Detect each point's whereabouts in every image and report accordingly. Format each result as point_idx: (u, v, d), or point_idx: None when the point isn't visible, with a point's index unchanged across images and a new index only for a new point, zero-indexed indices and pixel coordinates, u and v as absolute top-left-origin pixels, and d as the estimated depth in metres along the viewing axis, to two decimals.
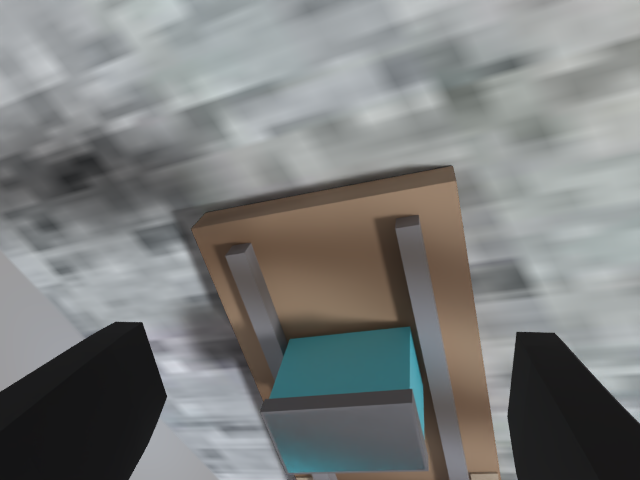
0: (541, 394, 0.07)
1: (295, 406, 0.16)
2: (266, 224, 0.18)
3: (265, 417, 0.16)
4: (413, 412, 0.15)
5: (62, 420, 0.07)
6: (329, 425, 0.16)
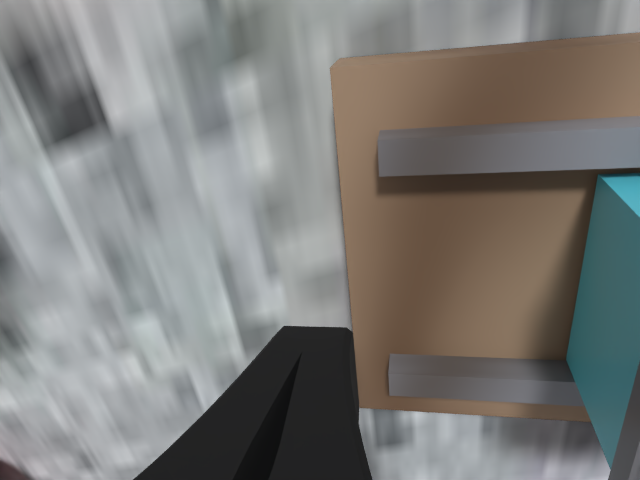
0: None
1: (628, 455, 0.08)
2: (365, 328, 0.13)
3: None
4: None
5: (277, 436, 0.07)
6: None
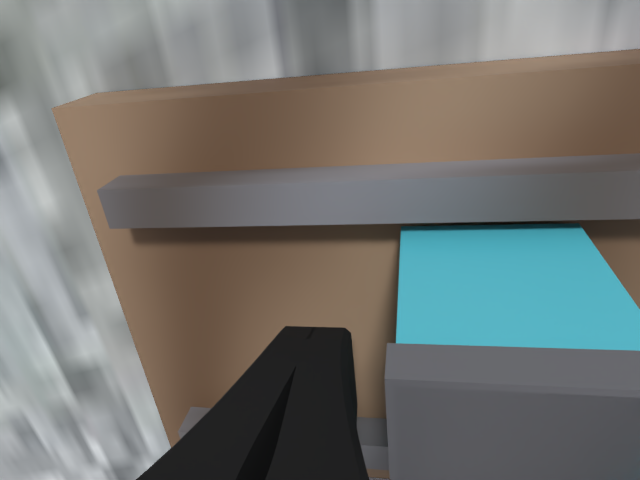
0: None
1: None
2: (160, 381, 0.12)
3: None
4: (422, 382, 0.05)
5: (279, 436, 0.07)
6: None
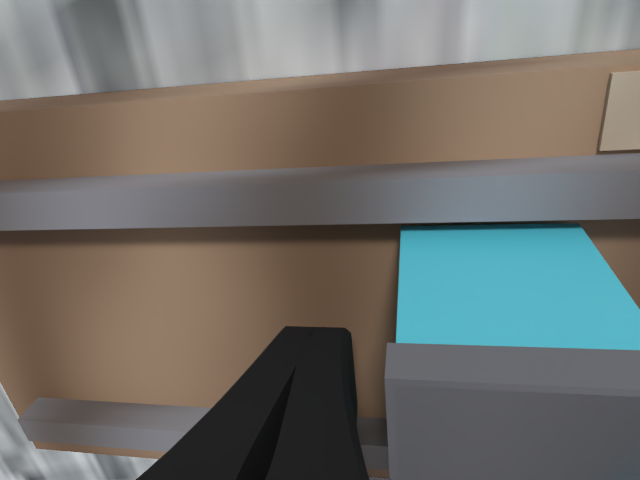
0: None
1: None
2: (6, 373, 0.13)
3: None
4: (422, 382, 0.05)
5: (279, 436, 0.07)
6: None
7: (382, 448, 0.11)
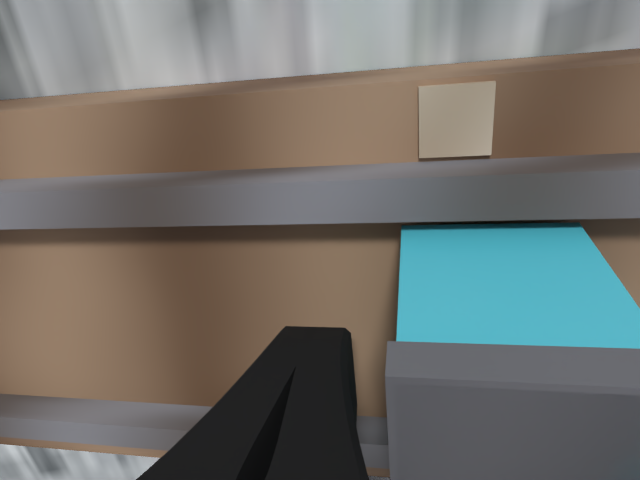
0: None
1: None
2: None
3: None
4: (422, 380, 0.05)
5: (279, 436, 0.07)
6: None
7: None
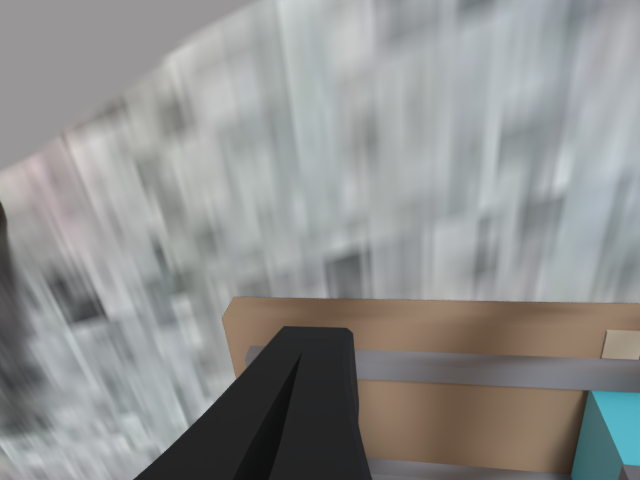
0: None
1: None
2: None
3: None
4: None
5: (277, 436, 0.07)
6: None
7: None
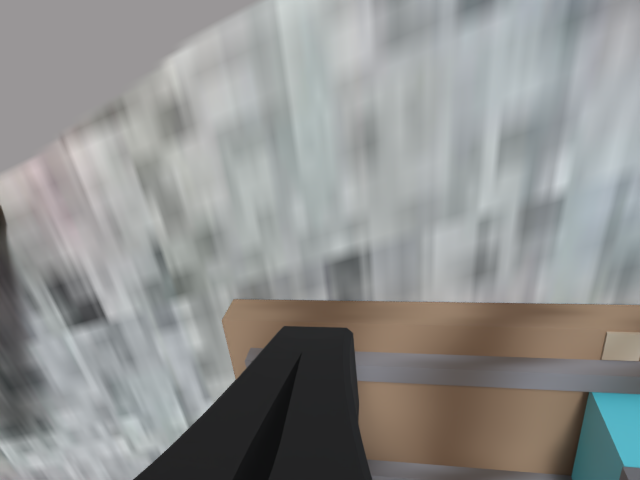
0: None
1: None
2: None
3: None
4: None
5: (277, 436, 0.07)
6: None
7: None
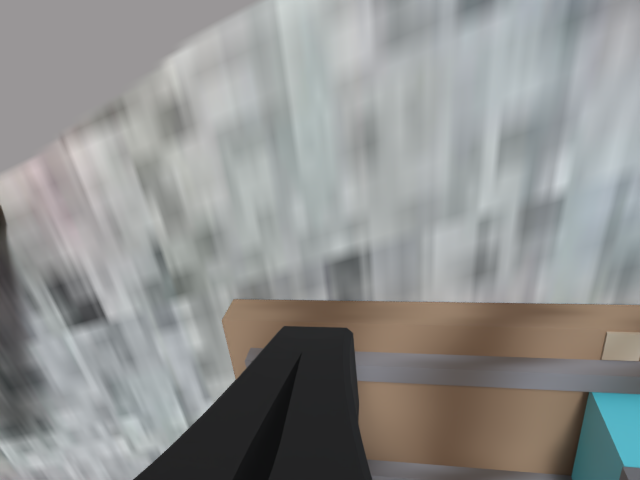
0: None
1: None
2: None
3: None
4: None
5: (277, 436, 0.07)
6: None
7: None
